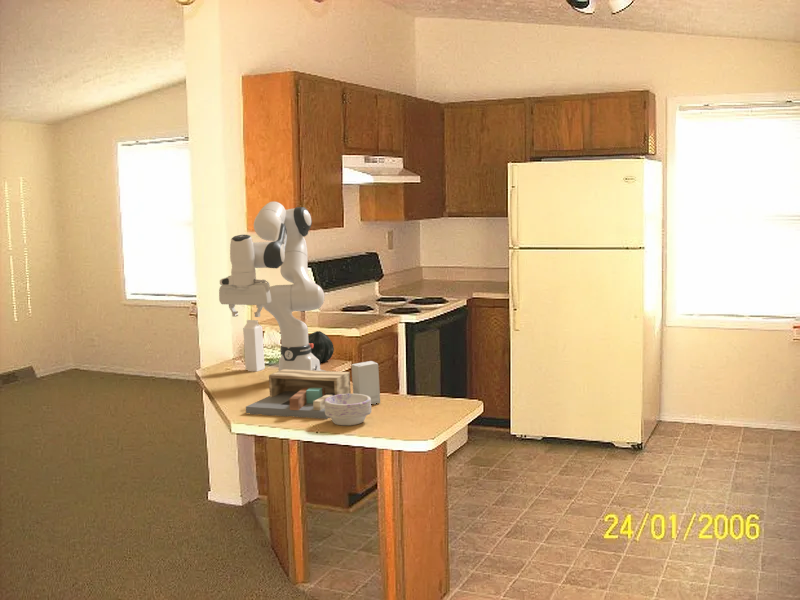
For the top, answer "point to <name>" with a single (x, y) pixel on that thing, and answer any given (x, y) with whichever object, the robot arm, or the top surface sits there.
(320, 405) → the stick
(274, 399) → the board
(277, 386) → the shelf
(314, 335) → the squash
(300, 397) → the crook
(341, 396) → the paper bowls
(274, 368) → the top surface
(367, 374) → the skincare box
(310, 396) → the block
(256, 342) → the milk
